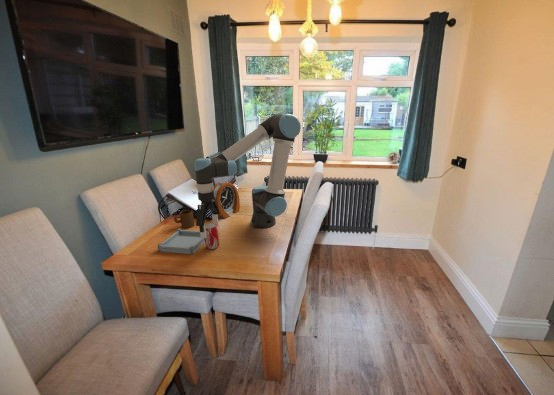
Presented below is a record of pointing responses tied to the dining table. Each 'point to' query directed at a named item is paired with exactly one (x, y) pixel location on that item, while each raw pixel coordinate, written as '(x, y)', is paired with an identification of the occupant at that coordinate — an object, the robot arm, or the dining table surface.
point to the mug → (185, 219)
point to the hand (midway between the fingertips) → (210, 231)
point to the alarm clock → (226, 198)
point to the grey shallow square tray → (182, 242)
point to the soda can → (211, 236)
